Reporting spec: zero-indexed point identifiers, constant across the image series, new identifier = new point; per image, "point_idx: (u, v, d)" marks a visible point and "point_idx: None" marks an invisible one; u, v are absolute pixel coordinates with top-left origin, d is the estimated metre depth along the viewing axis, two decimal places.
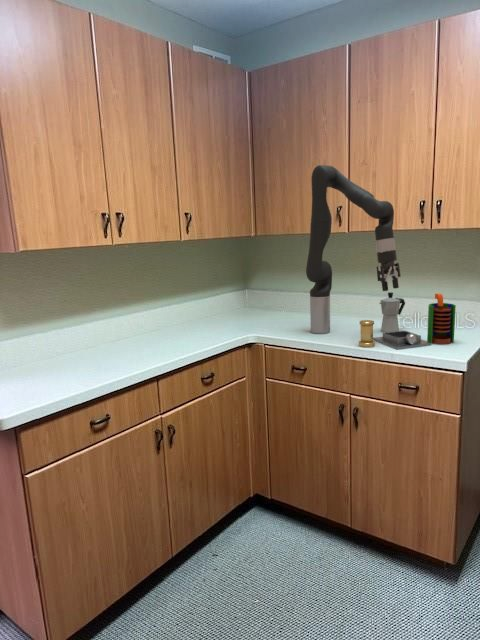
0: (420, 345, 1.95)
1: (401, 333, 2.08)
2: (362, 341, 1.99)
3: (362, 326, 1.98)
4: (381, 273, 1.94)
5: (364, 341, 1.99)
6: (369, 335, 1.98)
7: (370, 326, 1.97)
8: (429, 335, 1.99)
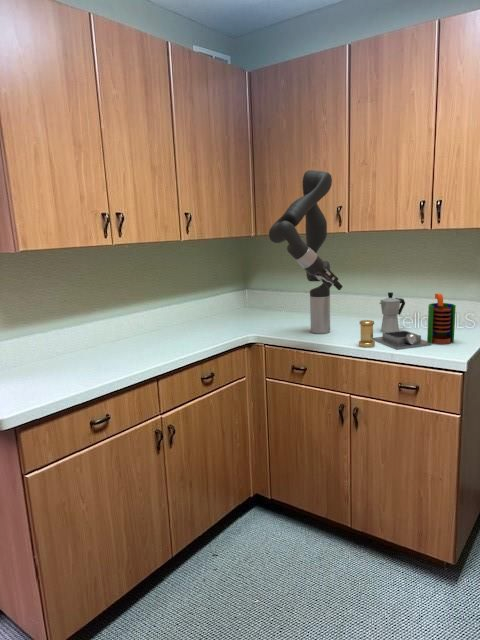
0: (420, 345, 1.95)
1: (401, 333, 2.08)
2: (362, 341, 1.99)
3: (362, 326, 1.98)
4: None
5: (364, 341, 1.99)
6: (369, 335, 1.98)
7: (370, 326, 1.97)
8: (429, 335, 1.99)
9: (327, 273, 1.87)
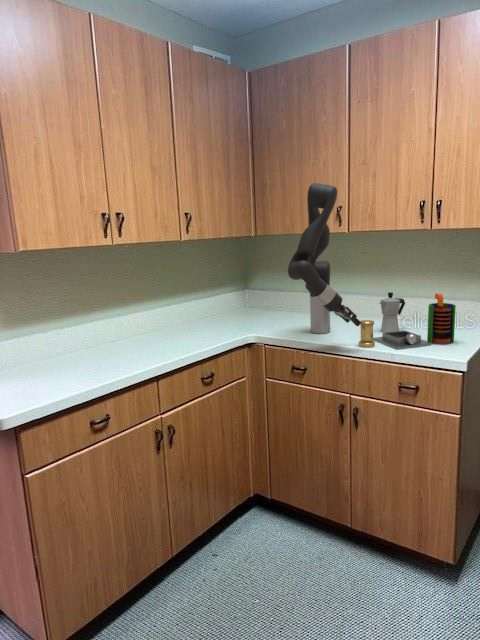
0: (420, 345, 1.95)
1: (401, 333, 2.08)
2: (362, 341, 1.99)
3: (362, 326, 1.98)
4: None
5: (364, 341, 1.99)
6: (369, 335, 1.98)
7: (370, 326, 1.97)
8: (429, 335, 1.99)
9: (345, 311, 1.88)
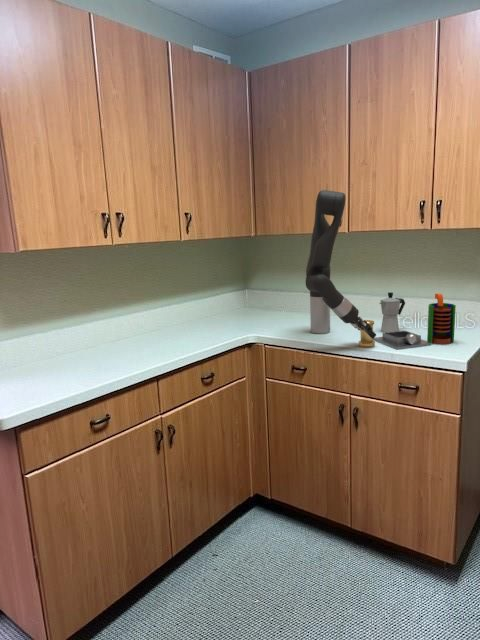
0: (420, 345, 1.95)
1: (401, 333, 2.08)
2: (362, 341, 1.99)
3: None
4: None
5: (364, 341, 1.99)
6: None
7: None
8: (429, 335, 1.99)
9: (364, 324, 1.91)
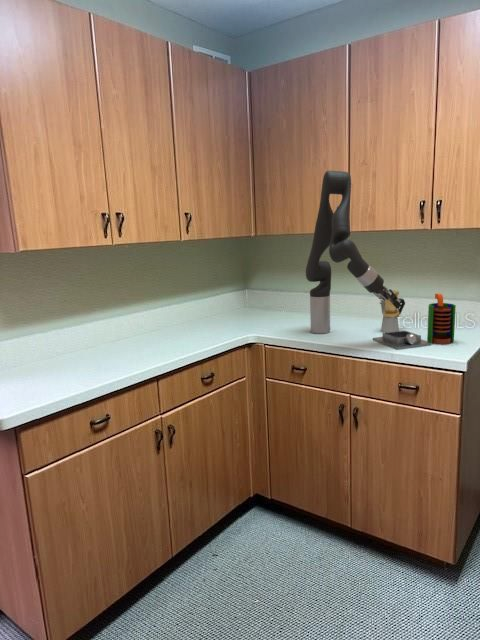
0: (420, 345, 1.95)
1: (401, 333, 2.08)
2: (386, 311, 1.98)
3: (387, 296, 1.97)
4: None
5: (389, 311, 1.97)
6: None
7: None
8: (429, 335, 1.99)
9: (389, 293, 1.90)
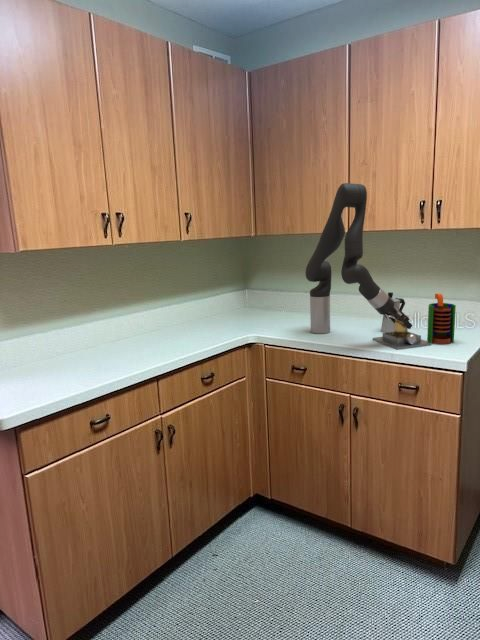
0: (420, 345, 1.95)
1: None
2: (397, 336, 2.01)
3: (397, 321, 2.00)
4: None
5: (399, 336, 2.00)
6: (404, 329, 1.99)
7: None
8: (429, 335, 1.99)
9: (399, 314, 1.92)
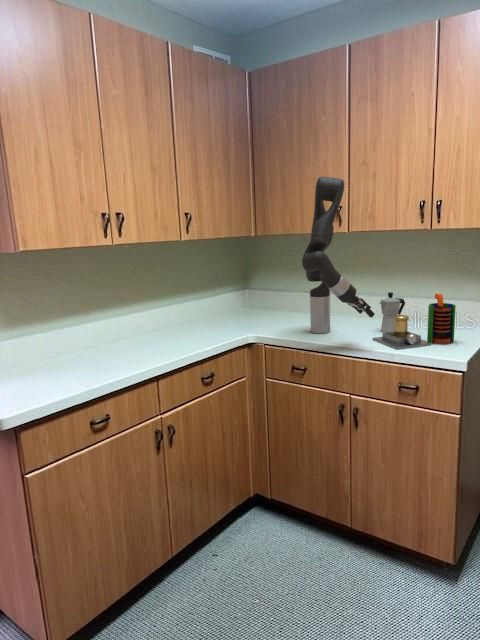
0: (420, 345, 1.95)
1: None
2: (396, 336, 2.01)
3: (397, 321, 2.00)
4: None
5: (399, 336, 2.00)
6: (403, 329, 1.99)
7: (405, 321, 1.99)
8: (429, 335, 1.99)
9: (360, 302, 1.89)
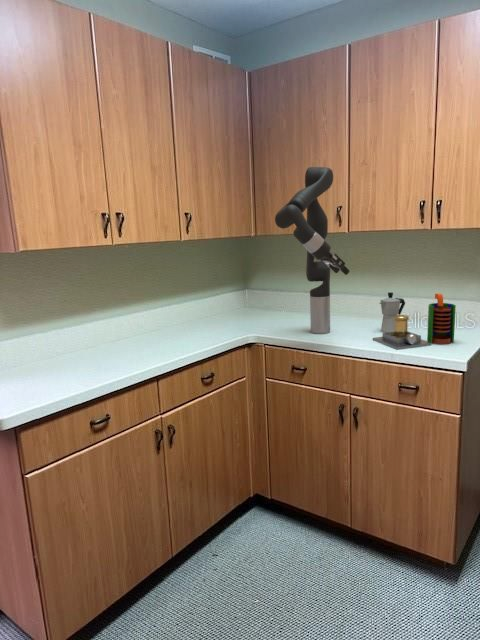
0: (420, 345, 1.95)
1: None
2: (396, 336, 2.01)
3: (397, 321, 2.00)
4: None
5: (399, 336, 2.00)
6: (404, 329, 1.99)
7: (405, 321, 1.99)
8: (429, 335, 1.99)
9: (334, 257, 1.87)
